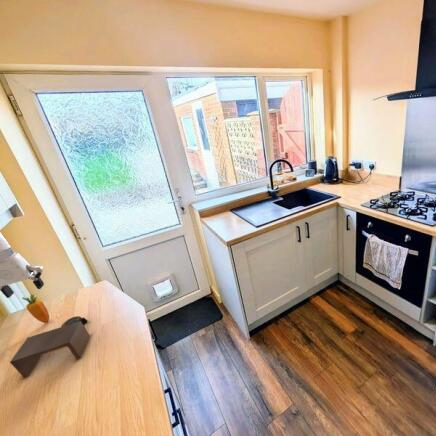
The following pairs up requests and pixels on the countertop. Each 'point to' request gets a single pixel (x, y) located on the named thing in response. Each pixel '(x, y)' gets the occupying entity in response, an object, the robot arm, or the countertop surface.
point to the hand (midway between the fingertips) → (26, 291)
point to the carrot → (37, 309)
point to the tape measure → (74, 321)
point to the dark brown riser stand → (50, 345)
